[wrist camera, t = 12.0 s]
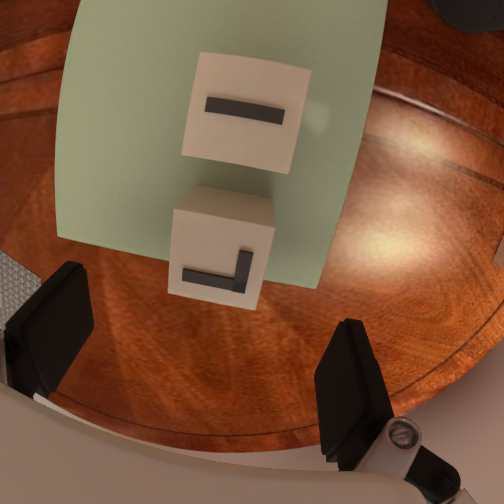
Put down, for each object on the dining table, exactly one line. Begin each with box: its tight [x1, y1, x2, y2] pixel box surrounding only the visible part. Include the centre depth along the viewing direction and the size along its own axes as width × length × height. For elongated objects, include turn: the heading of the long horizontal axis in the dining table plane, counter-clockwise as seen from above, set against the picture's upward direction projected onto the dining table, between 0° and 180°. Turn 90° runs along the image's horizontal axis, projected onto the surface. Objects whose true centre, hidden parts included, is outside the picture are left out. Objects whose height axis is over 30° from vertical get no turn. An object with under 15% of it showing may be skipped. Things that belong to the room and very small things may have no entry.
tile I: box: [181, 51, 312, 174], centre depth 14 cm, size 5×5×5 cm
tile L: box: [168, 185, 276, 310], centre depth 17 cm, size 5×5×5 cm
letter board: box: [55, 0, 388, 289], centre depth 17 cm, size 22×21×1 cm
